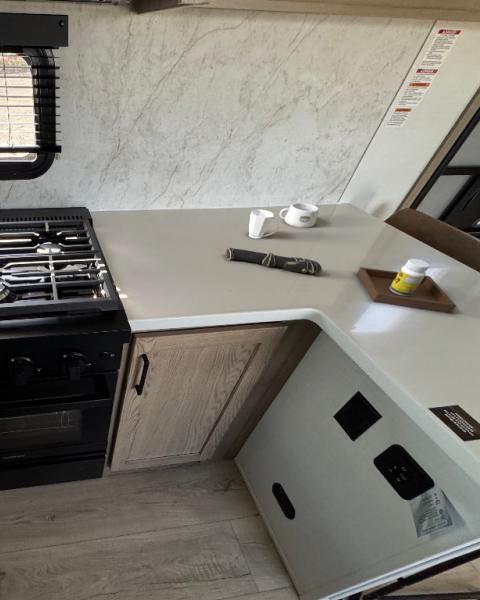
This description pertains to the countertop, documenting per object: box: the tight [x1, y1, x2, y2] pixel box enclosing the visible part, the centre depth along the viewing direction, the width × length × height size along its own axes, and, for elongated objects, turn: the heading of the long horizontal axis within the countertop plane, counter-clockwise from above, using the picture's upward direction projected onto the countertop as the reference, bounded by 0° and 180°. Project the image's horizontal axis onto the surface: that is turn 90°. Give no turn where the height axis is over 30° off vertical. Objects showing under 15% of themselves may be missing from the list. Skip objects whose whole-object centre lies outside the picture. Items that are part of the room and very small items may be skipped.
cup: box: [248, 209, 282, 240], centre depth 113 cm, size 7×10×8 cm
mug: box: [278, 202, 320, 228], centre depth 123 cm, size 12×10×6 cm
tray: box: [356, 266, 457, 314], centre depth 88 cm, size 16×14×2 cm
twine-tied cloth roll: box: [225, 247, 323, 274], centre depth 99 cm, size 4×5×25 cm
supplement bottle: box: [390, 258, 430, 296], centre depth 85 cm, size 5×5×8 cm
